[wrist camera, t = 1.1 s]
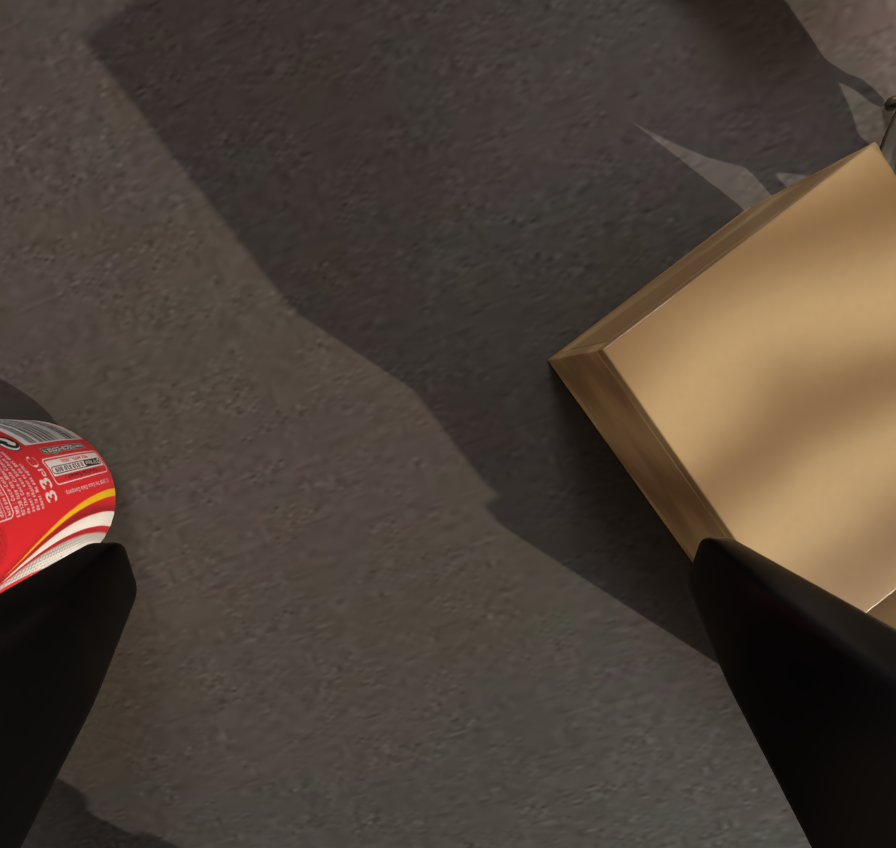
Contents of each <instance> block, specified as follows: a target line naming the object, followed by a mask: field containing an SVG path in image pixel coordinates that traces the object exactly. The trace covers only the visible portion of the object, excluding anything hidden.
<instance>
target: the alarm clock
mask: <svg viewBox="0 0 896 848" xmlns="http://www.w3.org/2000/svg"><path fill="white" fill-rule="evenodd" d="M884 106H885V109H886V110H887V111H895V110H896V96H892V97H890V98H888V99H887V101H886V102H885V105H884ZM880 150H881V152H882V153H883V155H884V157H885V159H886V160H887V162H888V164H889V165H890V167H891V169H892V170H893V172H894V174H895V176H896V111H895V113H894V115H893V117H892V120H891V122H890V124H889V126H888V129H887V131H886V133H885V136H884V138H883V141H882V143H881V146H880Z"/></svg>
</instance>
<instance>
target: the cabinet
mask: <svg viewBox="0 0 896 848" xmlns="http://www.w3.org/2000/svg"><path fill="white" fill-rule="evenodd" d="M548 361H549V363H550V364H551V366H552V367H553V368H554V370H555V371H556V373H557V374H558V375H559V377H560V378H561V380H562V381H563V382H564V384H565V385H566V387H567V388H568V389H569V391H570V392H571V394H572V395H573V396H574V398H575V399H576V401H577V402H578V403H579V405H580V406H581V408H582V409H583V410H584V412H585V413H586V415H587V416H588V417H589V419H590V420H591V422H592V423H593V424H594V426H595V427H596V429H597V430H598V431H599V433H600V434H601V435H602V437H603V438H604V440H605V441H606V442H607V444H608V445H609V447H610V448H611V449H612V451H613V452H614V454H615V455H616V456H617V458H618V459H619V461H620V462H621V463H622V465H623V466H624V468H625V469H626V470H627V472H628V473H629V475H630V476H631V477H632V479H633V480H634V482H635V483H636V484H637V486H638V487H639V489H640V490H641V491H642V493H643V494H644V496H645V497H646V498H647V500H648V501H649V503H650V504H651V505H652V507H653V508H654V510H655V511H656V512H657V514H658V515H659V517H660V518H661V519H662V521H663V522H664V524H665V525H666V526H667V528H668V529H669V531H670V532H671V533H672V535H673V536H674V538H675V539H676V540H677V542H678V543H679V545H680V546H681V547H682V549H683V550H684V552H685V553H686V554H687V556H688V557H689V559H690V560H691V561H692V563H693V560H694V557H695V555H696V552H697V549H698V546H699V544H700V542H701V541H702V540H703V539H704V538H707V537H729V538H732V539H734V540H736V541H738V542H740V543H742V544H743V545H745V546H747V547H749V548H751V549H752V550H754V551H756V552H758V553H760V554H761V555H763V556H765V557H767V558H769V559H770V560H772V561H774V562H776V563H778V564H779V565H781V566H783V567H785V568H787V569H788V570H790V571H792V572H794V573H796V574H797V575H799V576H801V577H803V578H805V579H806V580H808V581H810V582H812V583H814V584H815V585H817V586H819V587H821V588H823V589H824V590H826V591H828V592H830V593H832V594H833V595H835V596H837V597H839V598H841V599H842V600H844V601H846V602H848V603H850V604H851V605H853V606H855V607H857V608H859V609H860V610H862V611H864V612H866V613H867V612H868V611H869V610H870V609H872V608H873V607H874V606H876V605H877V604H878V603H879V602H881V601H882V600H883V599H884V598H886V597H887V596H888V595H889V594H891V593H892V592H893V591H894V590H896V176H895V174H894V172H893V170H892V169H891V167H890V165H889V164H888V162H887V160H886V159H885V157H884V155H883V153H882V152H881V150H880V148H879V147H878V145H877V143H876V142H874V143H871V144H869V145H867V146H865V147H864V148H862V149H860V150H859V151H856V152H854V153H852V154H850V155H848V156H846V157H844V158H843V159H841V160H839V161H837V162H835V163H833V164H831V165H829V166H827V167H825V168H824V169H822V170H820V171H818V172H816V173H814V174H812V175H810V176H808V177H806V178H804V179H803V180H801V181H799V182H797V183H795V184H793V185H791V186H789V187H787V188H785V189H783V190H782V191H780V192H778V193H776V194H774V195H772V196H770V197H768V198H766V199H764V200H762V201H761V202H759V203H757V204H755V205H753V206H751V207H749V208H747V209H745V210H744V211H743V212H741V213H740V214H739V215H738V216H736V217H735V218H734V219H732V220H731V221H730V222H728V223H727V224H726V225H724V226H723V227H722V228H720V229H719V230H718V231H717V232H715V233H714V234H713V235H711V236H710V237H709V238H707V239H706V240H705V241H703V242H702V243H701V244H699V245H698V246H697V247H695V248H694V249H693V250H692V251H690V252H689V253H688V254H686V255H685V256H684V257H682V258H681V259H680V260H678V261H677V262H676V263H674V264H673V265H672V266H670V267H669V268H668V269H667V270H665V271H664V272H663V273H661V274H660V275H659V276H657V277H656V278H655V279H653V280H652V281H651V282H649V283H648V284H647V285H645V286H644V287H643V288H642V289H640V290H639V291H638V292H636V293H635V294H634V295H632V296H631V297H630V298H628V299H627V300H626V301H624V302H623V303H622V304H621V305H619V306H618V307H617V308H615V309H614V310H613V311H611V312H610V313H609V314H607V315H606V316H605V317H603V318H602V319H601V320H599V321H598V322H597V323H596V324H594V325H593V326H592V327H590V328H589V329H588V330H586V331H585V332H584V333H582V334H581V335H580V336H578V337H577V338H576V339H574V340H573V341H572V342H571V343H569V344H568V345H567V346H565V347H564V348H563V349H561V350H560V351H559V352H557V353H556V354H555V355H553V356H552V357H551V358H549V359H548Z"/></svg>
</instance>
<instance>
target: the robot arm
mask: <svg viewBox="0 0 896 848" xmlns="http://www.w3.org/2000/svg"><path fill="white" fill-rule="evenodd" d="M688 585H689V589H690V592H691V595H692V597H693V600H694V602H695V605H696V607H697V610H698V612H699V615H700V617H701V620H702V622H703V625H704V627H705V630H706V632H707V635H708V637H709V640H710V642H711V645H712V647H713V650H714V652H715V655H716V657H717V660H718V662H719V665H720V667H721V669H722V672H723V674H724V676H725V678H726V681H727V683H728V685H729V687H730V689H731V691H732V693H733V695H734V697H735V699H736V701H737V703H738V705H739V707H740V709H741V711H742V713H743V715H744V716H745V718H746V720H747V722H748V724H749V726H750V728H751V730H752V732H753V734H754V736H755V738H756V740H757V742H758V744H759V746H760V748H761V750H762V751H763V753H764V755H765V757H766V759H767V761H768V763H769V765H770V767H771V769H772V771H773V773H774V775H775V777H776V779H777V781H778V783H779V785H780V786H781V788H782V790H783V792H784V794H785V796H786V798H787V800H788V802H789V804H790V806H791V808H792V810H793V812H794V814H795V816H796V818H797V819H798V821H799V823H800V825H801V827H802V829H803V831H804V833H805V835H806V837H807V839H808V841H809V843H810V845H811V847H812V848H896V629H895V628H893V627H891V626H889V625H887V624H886V623H884V622H882V621H880V620H878V619H877V618H875V617H873V616H871V615H869V614H868V613H866V612H864V611H862V610H860V609H859V608H857V607H855V606H853V605H851V604H850V603H848V602H846V601H844V600H842V599H841V598H839V597H837V596H835V595H833V594H832V593H830V592H828V591H826V590H824V589H823V588H821V587H819V586H817V585H815V584H814V583H812V582H810V581H808V580H806V579H805V578H803V577H801V576H799V575H797V574H796V573H794V572H792V571H790V570H788V569H787V568H785V567H783V566H781V565H779V564H778V563H776V562H774V561H772V560H770V559H769V558H767V557H765V556H763V555H761V554H760V553H758V552H756V551H754V550H752V549H751V548H749V547H747V546H745V545H743V544H742V543H740V542H738V541H736V540H734V539H732V538H729V537H707V538H704V539H703V540H702V541H701V542H700V544H699V546H698V549H697V552H696V555H695V557H694V560H693V563H692V566H691V569H690V572H689V575H688ZM136 590H137V589H136V581H135V578H134V575H133V572H132V569H131V565H130V562H129V559H128V556H127V553H126V550H125V548H124V547H123V546H122V545H121V544H119V543H90V544H87V545H85V546H83V547H82V548H80V549H78V550H76V551H74V552H73V553H71V554H69V555H67V556H66V557H64V558H62V559H60V560H58V561H57V562H55V563H53V564H51V565H49V566H48V567H46V568H44V569H42V570H41V571H39V572H37V573H35V574H33V575H32V576H30V577H28V578H26V579H24V580H23V581H21V582H19V583H17V584H16V585H14V586H12V587H10V588H8V589H7V590H5V591H3V592H1V593H0V848H21V846H22V844H23V842H24V840H25V838H26V836H27V834H28V832H29V830H30V828H31V826H32V824H33V822H34V820H35V818H36V816H37V814H38V812H39V810H40V808H41V806H42V804H43V802H44V801H45V799H46V797H47V795H48V793H49V791H50V789H51V787H52V785H53V783H54V781H55V779H56V777H57V775H58V773H59V771H60V769H61V767H62V765H63V763H64V761H65V759H66V757H67V755H68V754H69V752H70V750H71V748H72V746H73V744H74V742H75V740H76V738H77V736H78V734H79V732H80V730H81V728H82V726H83V724H84V722H85V720H86V718H87V716H88V714H89V712H90V710H91V708H92V706H93V704H94V702H95V699H96V697H97V695H98V692H99V690H100V688H101V685H102V683H103V680H104V678H105V675H106V672H107V670H108V667H109V665H110V662H111V660H112V657H113V655H114V652H115V649H116V647H117V644H118V642H119V639H120V637H121V634H122V632H123V629H124V626H125V624H126V621H127V619H128V616H129V614H130V611H131V608H132V606H133V603H134V600H135V597H136Z"/></svg>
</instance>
